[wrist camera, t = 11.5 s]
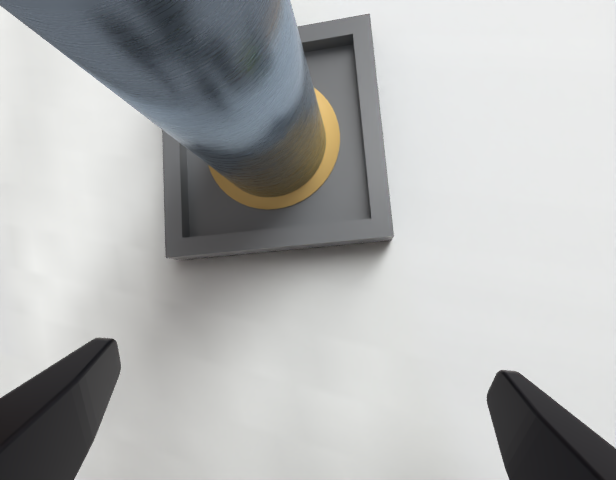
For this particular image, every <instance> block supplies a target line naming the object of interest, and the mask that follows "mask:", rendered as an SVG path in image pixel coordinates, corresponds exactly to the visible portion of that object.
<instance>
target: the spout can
mask: <svg viewBox="0 0 616 480" xmlns="http://www.w3.org/2000/svg"><path fill="white" fill-rule="evenodd" d="M0 6H2V7H3V8H4V9H6V10H7V11H8V12H10V13H11V14H12V15H13V16H15V17H16V18H17V19H19V20H20V21H21V22H23V23H24V24H25V25H27V26H28V27H29V28H30V29H32V30H33V31H34V32H36V33H37V34H38V35H40V36H41V37H42V38H43V39H45V40H46V41H47V42H49V43H50V44H51V45H53V46H54V47H55V48H57V49H58V50H59V51H60V52H62V53H63V54H64V55H66V56H67V57H68V58H70V59H71V60H72V61H74V62H75V63H76V64H77V65H79V66H80V67H81V68H83V69H84V70H85V71H87V72H88V73H89V74H90V75H92V76H93V77H94V78H96V79H97V80H98V81H100V82H101V83H102V84H104V85H105V86H106V87H107V88H109V89H110V90H111V91H113V92H114V93H115V94H117V95H118V96H119V97H121V98H122V99H123V100H124V101H126V102H127V103H128V104H130V105H131V106H132V107H134V108H135V109H136V110H137V111H139V112H140V113H141V114H143V115H144V116H145V117H147V118H148V119H149V120H151V121H152V122H153V123H154V124H156V125H157V126H158V127H160V128H161V129H162V130H164V131H165V132H166V133H167V134H169V135H170V136H171V137H173V138H174V139H175V140H177V141H178V142H179V143H181V144H182V145H183V146H184V147H186V148H187V149H188V150H190V151H191V152H192V153H194V154H195V155H196V156H198V157H199V158H200V159H201V160H203V161H204V162H205V163H207V164H208V165H209V166H211V167H212V168H213V169H214V170H216V171H217V172H218V173H220V174H221V175H222V176H224V177H225V178H226V179H228V180H229V181H230V182H231V183H233V184H234V185H235V186H237V187H238V188H240V189H241V190H243V191H244V192H247V193H249V194H251V195H255V196H259V197H278V196H283V195H286V194H289V193H291V192H293V191H295V190H297V189H299V188H300V187H302V186H303V185H304V184H306V183H307V182H308V181H309V180H310V179H311V178H312V177H313V175H314V174H315V173H316V171H317V170H318V168H319V166H320V164H321V162H322V160H323V157H324V153H325V148H326V133H325V128H324V124H323V120H322V116H321V113H320V109H319V105H318V102H317V98H316V94H315V91H314V87H313V83H312V79H311V76H310V72H309V68H308V65H307V61H306V57H305V54H304V50H303V46H302V43H301V39H300V35H299V31H298V28H297V24H296V20H295V17H294V13H293V9H292V6H291V2H290V0H0Z"/></svg>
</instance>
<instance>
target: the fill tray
mask: <svg viewBox="0 0 616 480" xmlns="http://www.w3.org/2000/svg"><path fill="white" fill-rule="evenodd" d="M297 28H298V31H299V35H300V39H301V43H302V46H303V50H304V54H305V57H306V61H307V65H308V68H309V72H310V76H311V79H312V83H313V87H314V91H315V94H316V98H317V102H318V105H319V109H320V113H321V116H322V120H323V124H324V128H325V133H326V148H325V153H324V157H323V160H322V162H321V164H320V166H319V168H318V170H317V171H316V173H315V174H314V175H313V177H312V178H311V179H310V180H309V181H308V182H307V183H306V184H304V185H303V186H302V187H300V188H299V189H297V190H295V191H293V192H291V193H289V194H286V195H283V196H278V197H259V196H255V195H251V194H249V193H247V192H244V191H243V190H241V189H240V188H238V187H237V186H235V185H234V184H233V183H231V182H230V181H229V180H228V179H226V178H225V177H224V176H222V175H221V174H220V173H218V172H217V171H216V170H214V169H213V168H212V167H211V166H209V165H208V164H207V163H205V162H204V161H203V160H201V159H200V158H199V157H198V156H196V155H195V154H194V153H192V152H191V151H190V150H188V149H187V148H186V147H184V146H183V145H182V144H181V143H179V142H178V141H177V140H175V139H174V138H173V137H171V136H170V135H169V134H167V133H166V132H165V131H164V130H162V133H163V171H164V210H165V248H166V258H171V259H178V260H187V259H197V258H208V257H219V256H229V255H240V254H251V253H261V252H272V251H283V250H293V249H304V248H315V247H325V246H336V245H347V244H357V243H368V242H379V241H389V240H392V238H393V237H394V234H393V224H392V215H391V206H390V197H389V187H388V178H387V169H386V160H385V150H384V141H383V132H382V123H381V113H380V104H379V95H378V86H377V76H376V67H375V58H374V49H373V39H372V30H371V21H370V14H365V15H359V16H354V17H348V18H343V19H337V20H332V21H326V22H321V23H315V24H309V25H304V26H298V27H297Z"/></svg>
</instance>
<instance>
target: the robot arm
mask: <svg viewBox="0 0 616 480" xmlns="http://www.w3.org/2000/svg"><path fill="white" fill-rule="evenodd" d="M120 370H121V363H120V357H119V352H118V346H117V342H116V341H115V340H114V339H110V338H95V339H93V340H91V341H90V342H88V343H87V344H85V345H83V346H82V347H80V348H79V349H77V350H76V351H74V352H72V353H71V354H69V355H68V356H66V357H65V358H63V359H61V360H60V361H58V362H57V363H55V364H53V365H52V366H50V367H49V368H47V369H46V370H44V371H42V372H41V373H39V374H38V375H36V376H34V377H33V378H31V379H30V380H28V381H27V382H25V383H23V384H22V385H20V386H19V387H17V388H16V389H14V390H12V391H11V392H9V393H8V394H6V395H4V396H3V397H1V398H0V480H74V479H75V477H76V475H77V473H78V471H79V469H80V467H81V465H82V463H83V461H84V459H85V457H86V455H87V453H88V451H89V449H90V447H91V445H92V443H93V441H94V438H95V436H96V434H97V431H98V429H99V426H100V424H101V421H102V418H103V416H104V413H105V411H106V408H107V406H108V403H109V400H110V398H111V395H112V393H113V390H114V387H115V385H116V382H117V380H118V377H119V374H120ZM487 404H488V408H489V412H490V415H491V419H492V422H493V426H494V430H495V433H496V437H497V441H498V444H499V448H500V452H501V455H502V459H503V462H504V465H505V469H506V472H507V474H508V477H509V480H616V449H615V448H614V447H613V446H612V445H610V444H609V443H608V442H607V441H605V440H604V439H603V438H601V437H600V436H599V435H598V434H596V433H595V432H594V431H593V430H591V429H590V428H589V427H588V426H586V425H585V424H584V423H582V422H581V421H580V420H579V419H577V418H576V417H575V416H574V415H572V414H571V413H570V412H568V411H567V410H566V409H565V408H563V407H562V406H561V405H560V404H558V403H557V402H556V401H554V400H553V399H552V398H551V397H549V396H548V395H547V394H546V393H544V392H543V391H542V390H541V389H539V388H538V387H537V386H535V385H534V384H533V383H532V382H530V381H529V380H528V379H527V378H525V377H524V376H523V375H521V374H520V373H519V372H516V371H507V370H500V371H499V372H497V374H496V376H495V378H494V380H493V382H492V385H491V387H490V389H489V391H488V394H487Z"/></svg>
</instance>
